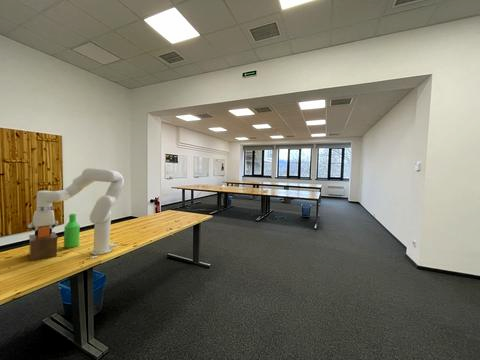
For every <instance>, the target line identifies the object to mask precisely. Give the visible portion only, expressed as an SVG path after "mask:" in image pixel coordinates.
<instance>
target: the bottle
mask: <svg viewBox="0 0 480 360" xmlns="http://www.w3.org/2000/svg"><path fill="white" fill-rule="evenodd" d="M80 227H81V226H80V224H79V223H78V222H77V214H76V213H69V214H68V222H67V223H66V224H65V226H64V227H63V229H64V231H63V247H64V248H65V249H73V248H76V247H78V246H79V245H80Z"/></svg>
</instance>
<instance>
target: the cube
mask: <svg viewBox="0 0 480 360" xmlns="http://www.w3.org/2000/svg"><path fill="white" fill-rule="evenodd" d="M49 233H50V227H49V226H41V227H38V238H40V237H47V236H49Z"/></svg>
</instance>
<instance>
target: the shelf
mask: <svg viewBox="0 0 480 360" xmlns="http://www.w3.org/2000/svg"><path fill="white" fill-rule="evenodd" d="M28 237H29V251H28V255H29V261H30V262H33V261H39V260H44V259H45V260H46V259H50V258H55V257H57V254H58V253H57V252H58V239H59V236H58V235H57V233H56V232H55V231H52V233H51V235H49V236H47V237H40V238H38V237H36V236H35V233H34V234H29V235H28Z"/></svg>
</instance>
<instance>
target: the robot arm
mask: <svg viewBox="0 0 480 360" xmlns="http://www.w3.org/2000/svg"><path fill="white" fill-rule="evenodd" d="M94 182H104V183H110V184H109V186H108V188H107V190H106V192H105V194H104V195H101V196H100V197H99V198H97V200H96V201H95V204H94V206H93V208H92V209H91V211H90V215H89V221H90V223H92V224H94V228H93V249H91V250H90V254H91V255H94V256H96V255H105V254H108V253H111V251H112V250H113V248H115V247H118V244H117V243H110V241H111V225H112V224H111V222H112V217H113V216H112V215H113V214H112V211H111V208H113V207H115V205H116V204H117V202H118V200H119V197H120V195H121V193H122V190H123V188H124V186H125V178H124V176H123V174H121V172H119V171H117V170H115V169H114V170H113V169H103V168H96V167H86V168H85V169H83V171H82V172H81V174H80V175H78V176H76V177H75V178H73V179H72V183H71V184H70V185H68V186H67V187H65V188H63V189H60V190H53V191H52V190H39V191H37V193H36V210H35V211H34V213H33V217H32V221H31V222H30V223H29V224H28V225H27V228H29V229H31V230H33V231H34V234H35V236H36V237H38V228H40V227H49V228H50V233H49V235H51V233H52V232H53V229H54V228H55V227H56V226H58V225H59V224H60V223H59V221H58V220H56V219H55V212H54V211H55V210H53V209H56V206H53V203H59V202H64V201H67V200H69V199H72V198H73V197H74V196H76V195H78V194H79V193H80V192H82V191H83V189H85V188H86V187H88V186H90V185H91V184H93V183H94Z"/></svg>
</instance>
